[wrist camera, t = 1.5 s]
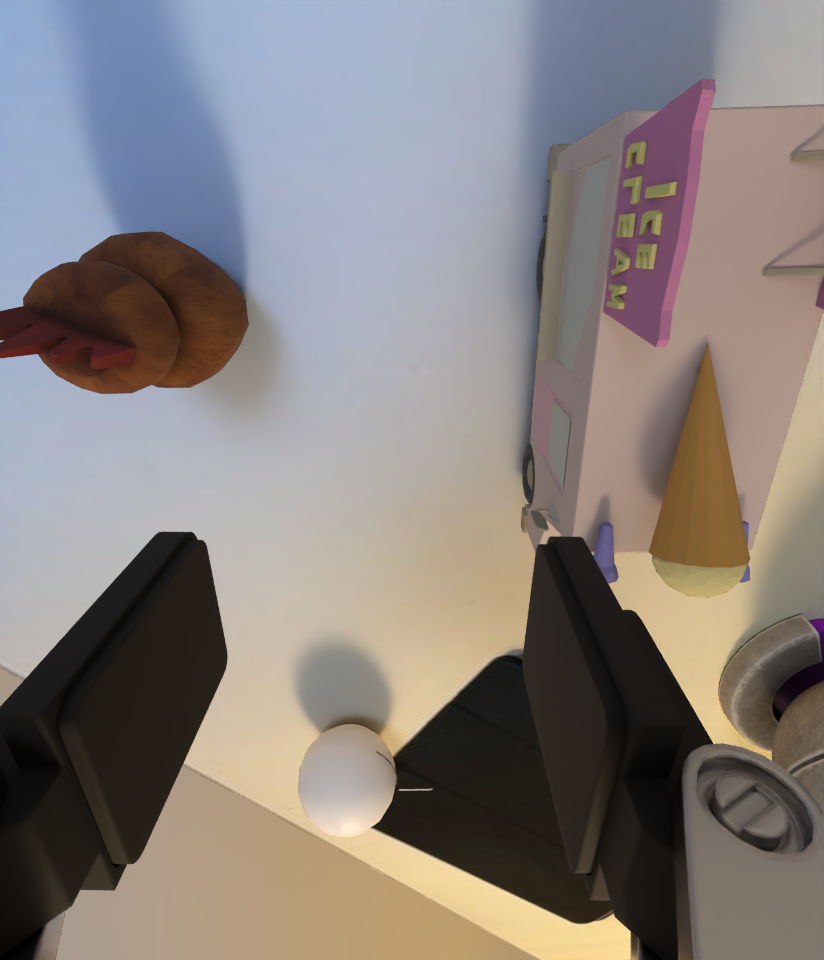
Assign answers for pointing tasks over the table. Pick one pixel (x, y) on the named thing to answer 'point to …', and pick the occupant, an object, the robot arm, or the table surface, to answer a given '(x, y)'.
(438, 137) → the table surface
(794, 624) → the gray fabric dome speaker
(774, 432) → the toy vehicle
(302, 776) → the seamed sphere
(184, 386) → the wooden figurine
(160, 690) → the robot arm
